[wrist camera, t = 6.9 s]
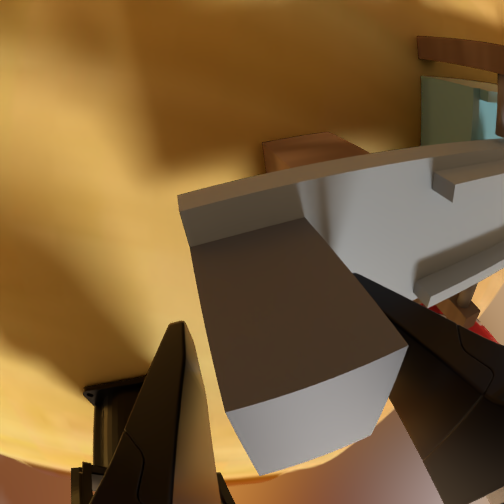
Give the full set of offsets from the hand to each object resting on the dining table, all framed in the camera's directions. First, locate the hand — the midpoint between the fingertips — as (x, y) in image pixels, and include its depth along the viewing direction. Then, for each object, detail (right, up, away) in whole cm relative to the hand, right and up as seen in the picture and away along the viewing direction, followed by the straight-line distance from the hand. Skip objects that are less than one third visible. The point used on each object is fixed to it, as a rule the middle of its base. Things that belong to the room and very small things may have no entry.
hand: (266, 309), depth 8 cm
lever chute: (+5, +3, +2) cm, 7 cm away
